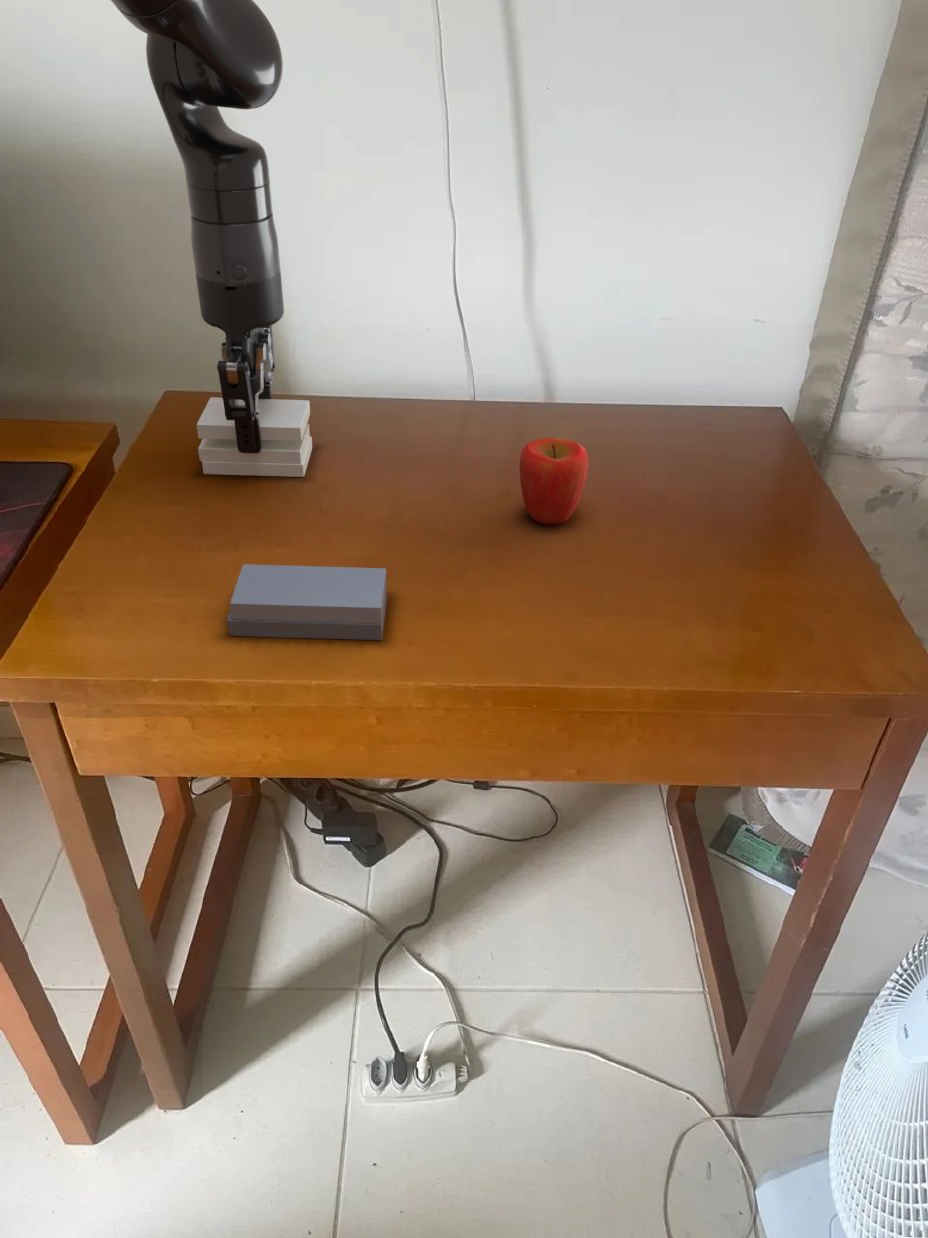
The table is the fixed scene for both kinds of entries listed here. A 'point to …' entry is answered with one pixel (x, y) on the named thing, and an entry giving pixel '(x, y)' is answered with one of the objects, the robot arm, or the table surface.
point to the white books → (256, 457)
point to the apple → (552, 478)
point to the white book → (274, 420)
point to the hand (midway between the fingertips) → (256, 435)
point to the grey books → (309, 602)
